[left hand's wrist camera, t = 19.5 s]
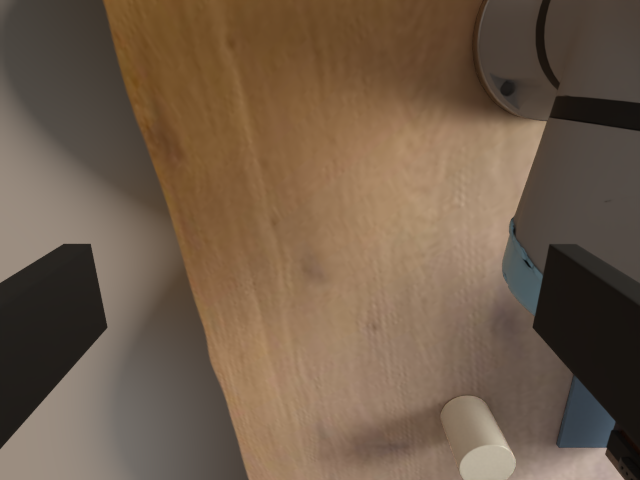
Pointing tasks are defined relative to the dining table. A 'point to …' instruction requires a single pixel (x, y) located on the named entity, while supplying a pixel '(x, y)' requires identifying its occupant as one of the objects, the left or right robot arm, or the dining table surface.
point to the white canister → (476, 440)
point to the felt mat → (584, 420)
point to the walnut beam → (634, 446)
